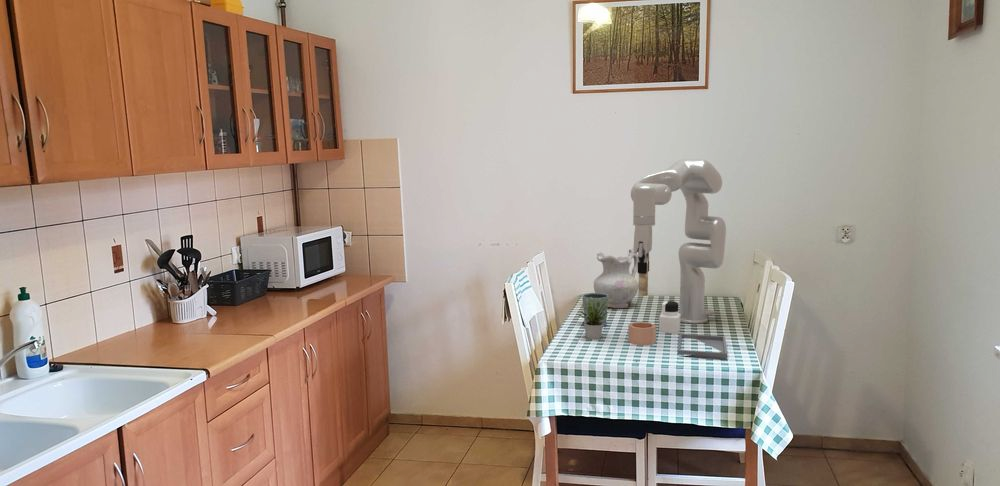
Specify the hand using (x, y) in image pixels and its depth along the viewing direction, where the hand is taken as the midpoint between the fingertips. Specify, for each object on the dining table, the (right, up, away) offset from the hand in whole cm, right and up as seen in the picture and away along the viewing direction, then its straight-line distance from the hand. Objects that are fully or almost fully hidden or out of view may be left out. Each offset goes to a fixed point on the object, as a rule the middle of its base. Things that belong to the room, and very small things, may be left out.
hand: (643, 272), depth 256 cm
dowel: (0, -8, +1) cm, 8 cm away
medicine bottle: (+14, -24, +19) cm, 33 cm away
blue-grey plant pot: (-13, -22, +32) cm, 41 cm away
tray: (+20, -27, -3) cm, 33 cm away
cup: (0, -26, +4) cm, 26 cm away
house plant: (-15, -26, +10) cm, 31 cm away
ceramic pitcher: (+2, -18, +66) cm, 68 cm away
